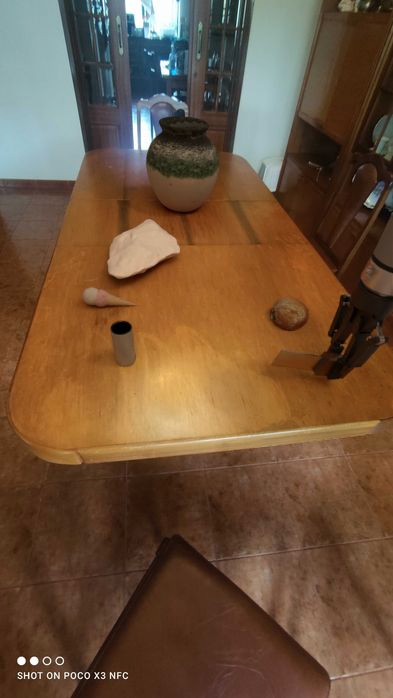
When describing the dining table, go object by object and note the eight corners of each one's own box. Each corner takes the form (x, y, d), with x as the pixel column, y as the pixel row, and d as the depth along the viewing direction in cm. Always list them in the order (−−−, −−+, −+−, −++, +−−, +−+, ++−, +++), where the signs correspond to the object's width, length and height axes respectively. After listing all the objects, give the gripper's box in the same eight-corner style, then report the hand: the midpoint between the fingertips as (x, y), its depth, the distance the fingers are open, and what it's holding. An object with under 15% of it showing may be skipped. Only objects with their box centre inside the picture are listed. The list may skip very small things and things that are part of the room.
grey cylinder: (128, 349, 76) (124, 317, 69) (139, 360, 74) (136, 328, 67) (112, 358, 74) (105, 326, 67) (123, 370, 72) (118, 337, 65)
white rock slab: (188, 236, 114) (185, 211, 108) (168, 293, 90) (163, 264, 84) (126, 237, 118) (120, 213, 112) (91, 292, 94) (81, 265, 87)
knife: (337, 370, 73) (352, 356, 69) (342, 378, 71) (358, 364, 68) (268, 360, 66) (281, 343, 63) (272, 369, 64) (285, 353, 61)
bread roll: (267, 318, 93) (262, 300, 87) (298, 302, 93) (295, 283, 86) (283, 341, 87) (279, 324, 81) (317, 324, 86) (315, 305, 80)
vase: (157, 224, 122) (154, 133, 100) (141, 195, 140) (136, 112, 118) (224, 218, 130) (236, 132, 108) (201, 191, 148) (207, 113, 126)
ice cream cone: (139, 301, 91) (85, 290, 87) (141, 294, 87) (84, 282, 83) (136, 316, 90) (81, 306, 86) (138, 310, 85) (80, 298, 82)
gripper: (340, 260, 58) (300, 348, 75) (387, 316, 48) (329, 403, 65) (376, 259, 59) (329, 346, 76) (431, 314, 49) (362, 400, 66)
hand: (329, 372), depth 71 cm, fingers closed on knife, 2 cm apart
